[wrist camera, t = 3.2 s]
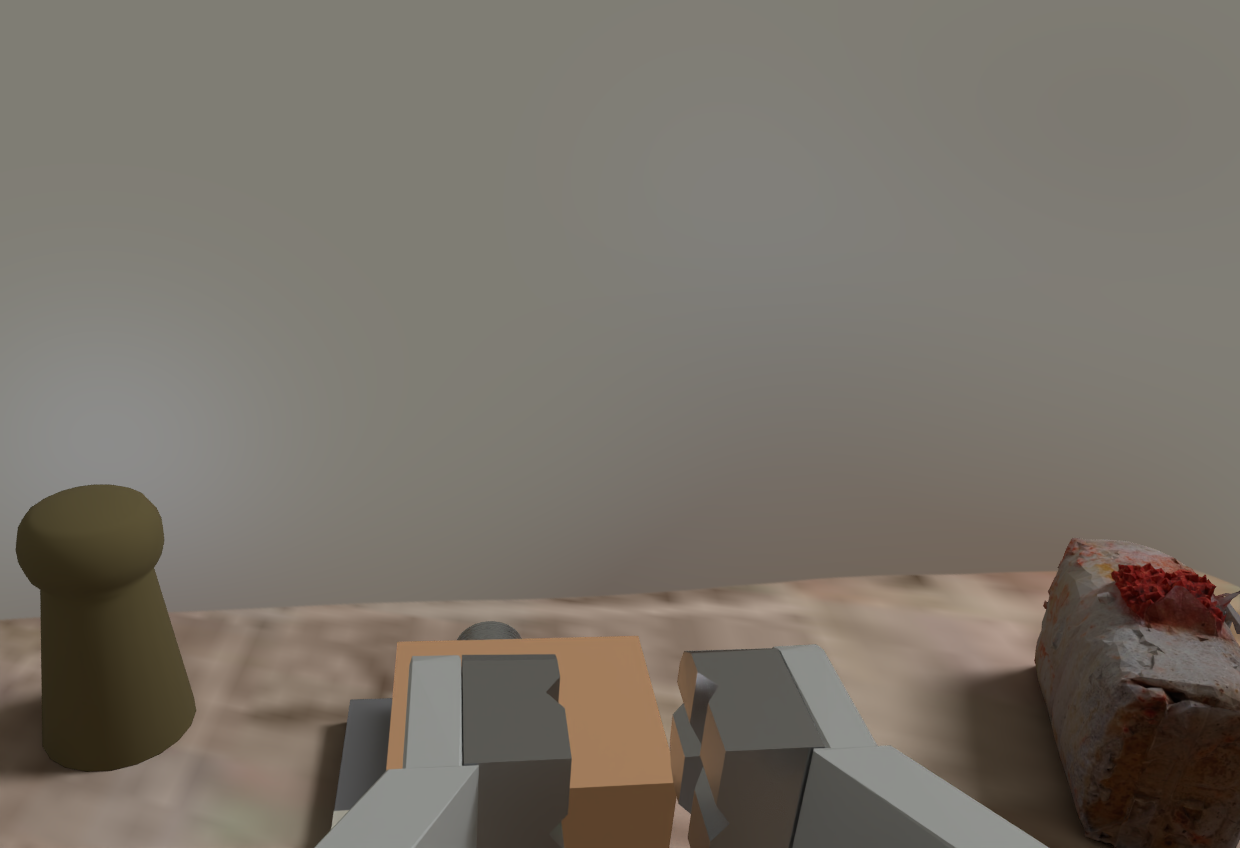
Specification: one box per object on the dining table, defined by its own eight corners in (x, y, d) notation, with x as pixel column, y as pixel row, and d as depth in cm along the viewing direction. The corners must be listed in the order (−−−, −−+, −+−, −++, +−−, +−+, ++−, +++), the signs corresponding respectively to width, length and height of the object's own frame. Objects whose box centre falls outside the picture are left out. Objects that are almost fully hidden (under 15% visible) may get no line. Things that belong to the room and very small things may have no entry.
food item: (1010, 649, 53) (1058, 491, 49) (1165, 679, 52) (1227, 519, 48) (1059, 842, 41) (1129, 652, 37) (1263, 887, 39) (1359, 695, 35)
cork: (7, 746, 40) (-45, 518, 36) (117, 662, 46) (84, 454, 41) (126, 789, 39) (87, 556, 34) (225, 696, 44) (203, 485, 40)
